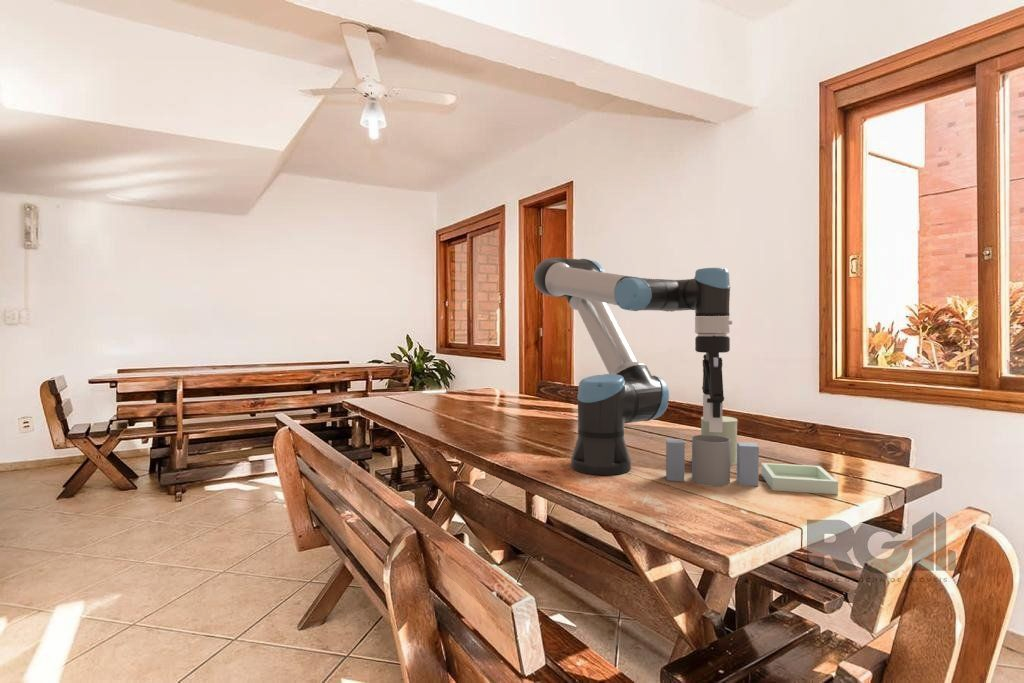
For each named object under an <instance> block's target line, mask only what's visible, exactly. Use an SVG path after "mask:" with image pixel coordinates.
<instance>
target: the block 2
mask: <svg viewBox="0 0 1024 683" xmlns="http://www.w3.org/2000/svg"><path fill="white" fill-rule="evenodd" d="M759 449H760V447H759V445H758V444H757V443H756V442H747V441H746V442H744V441H743V442H742V441H741V442H740V441H737V464H736V481H737V483H738V486H750V487H751V486H752V487H759V462H760V461H759V457H760V456H759V455H760V454H759V453H760V452H759V451H760V450H759Z"/></svg>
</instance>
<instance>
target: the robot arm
mask: <svg viewBox="0 0 1024 683" xmlns="http://www.w3.org/2000/svg"><path fill="white" fill-rule="evenodd" d="M694 275H695V276H694V277H693V278H690V279H688V278H687V279H661V278H660V279H659V278H658V279H657V278H646V277H637V276H631V275H630V276H629V275H623V274H617V273H612V272H611V273H609V272H606V271H605V269H604V268H603V266H602V265H601V264H600V263H599V262H597V261H596V260H593V259H592V260H590V259H587V258H578V259H577V258H570V257H569V258H566V257H556V256H555V257H550V258H549V257H548V258H546V259H544V260H542V261H541V262H539V264H537V266H536V267H535V270H534V272H533V282H534V286H535V287H536V289H537V290H538V291H539V292H540V293H541V294H543V295H545V296H547V297H555V298H565V299H566V301H567V303H568V305H569V307H570V309H572V310H575V311H578V313H579V315H580V318H581V320H582V322H583V324H584V326H585V328H586V330H587V332H588V334H589V336H590V339H591V340H592V343H593V344H594V346H595V348H596V351H597V353H598V354H599V356H600V359H601V361H602V363H603V364H604V367H605V369H606V371H607V372H608V373H606V374H595V375H591V376H587V377H584V378H582V379H581V380H580V382H578V386H577V387H578V388H577V390H578V391H577V395H576V397H577V438H576V442H575V445H574V447H573V451H572V455H571V456H570V457H571V458H570V460H571V461H570V467H571V469H573V470H574V471H576V472H579V473H583V474H588V475H597V476H613V475H614V476H615V475H621V474H626V473H628V472H629V471H631V469H632V459H631V456H630V453H629V449H628V447H627V444H626V441H625V440H626V439H625V425H626V424H631V423H639V422H648V421H651V420H654V419H658V418H660V417H662V415H664V413H665V412H666V411H667V408H668V406H669V402H670V391H669V388H668V385H667V383H666V381H665V380H664V379H663V378H662V377H659V376H657V375H652V374H651V372H650V369H649V368H648V366H647V365H646V364H645V363H642V362H639V361H638V360H637V357H636V356H635V354H634V352H633V350H632V348H631V345H629V343H628V341H627V339H626V336H625V335H624V333H623V331H622V329H621V327H620V325H619V324H618V322H617V320H616V317H615V315H614V313H613V312H612V310H611V308H610V306H609V304H610V305H614V306H618V307H619V308H620V309H622V310H625V311H631V312H638V311H662V312H676V311H677V312H680V311H694V313H695V314H694V315H695V316H694V333H695V334H697V336H695V338H694V339H695V340H694V341H695V344H694V345H695V347H694V348H695V352H696V353H705V354H703V359H702V373H703V374H702V386H701V390H702V393H703V395H702V401H703V402H702V407H703V408H702V417H703V421H709V432H722V416H723V407H724V406H723V405H724V404H723V402H724V401H725V396H724V384H723V383H724V380H723V358H722V357H720V355H719V354H721V353H724V354H725V353H729V352H730V349H731V348H730V346H731V344H730V343H731V342H730V341H731V338H730V336H728V334H729V333H730V325H733V321H732V320H731V319H730V298H731V297H730V296H731V285H730V284H731V283H730V272H729V270H728V269H727V268H725V267H705V268H704V267H703V268H698V269H696V271H695V274H694Z"/></svg>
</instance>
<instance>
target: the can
mask: <svg viewBox="0 0 1024 683" xmlns="http://www.w3.org/2000/svg"><path fill="white" fill-rule="evenodd" d="M700 422H701V424H700V426H701V429H700V432H701V434H700V435H715V436H722V437H726V438H729V439H730V467H731V466H735V465H736V466H737V442H738V419H737V418H736V417H732V416H727V415H726V416H724V415H722V432H709V421H703V416H701V417H700Z"/></svg>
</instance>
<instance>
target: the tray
mask: <svg viewBox="0 0 1024 683" xmlns="http://www.w3.org/2000/svg"><path fill="white" fill-rule="evenodd" d="M760 475H761V477H762V478H763V479H764V481H766V483H767V485H768V486H769V488H770V489H771V490H772V491H776V492H777V491H778V492H779V491H780V492H781V491H782V492H792V493H796V492H797V493H811V494H825V495H839V481H838V480H837V479H836V478H835V477H834V476H832V474H830V473H829V472H828V471H826V470H825V469H824V467H822V466H821V465H810V464H808V465H807V464H792V463H791V464H790V463H789V464H788V463H773V462H761V463H760Z"/></svg>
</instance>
